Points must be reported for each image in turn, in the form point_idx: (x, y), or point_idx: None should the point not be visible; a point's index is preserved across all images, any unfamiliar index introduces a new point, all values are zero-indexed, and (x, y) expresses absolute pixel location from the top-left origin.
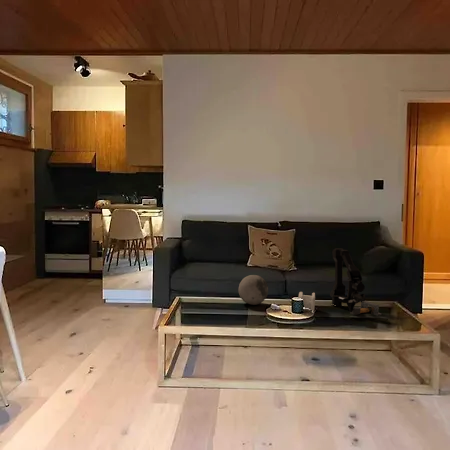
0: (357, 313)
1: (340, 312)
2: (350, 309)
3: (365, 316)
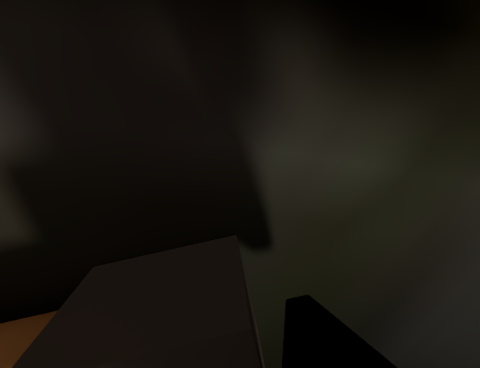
0: (158, 261)
1: None
2: (356, 343)
3: (43, 98)
